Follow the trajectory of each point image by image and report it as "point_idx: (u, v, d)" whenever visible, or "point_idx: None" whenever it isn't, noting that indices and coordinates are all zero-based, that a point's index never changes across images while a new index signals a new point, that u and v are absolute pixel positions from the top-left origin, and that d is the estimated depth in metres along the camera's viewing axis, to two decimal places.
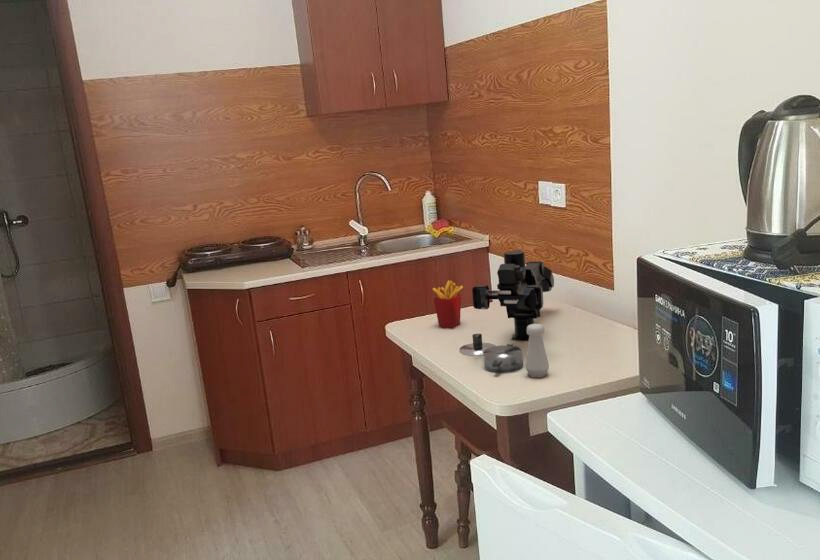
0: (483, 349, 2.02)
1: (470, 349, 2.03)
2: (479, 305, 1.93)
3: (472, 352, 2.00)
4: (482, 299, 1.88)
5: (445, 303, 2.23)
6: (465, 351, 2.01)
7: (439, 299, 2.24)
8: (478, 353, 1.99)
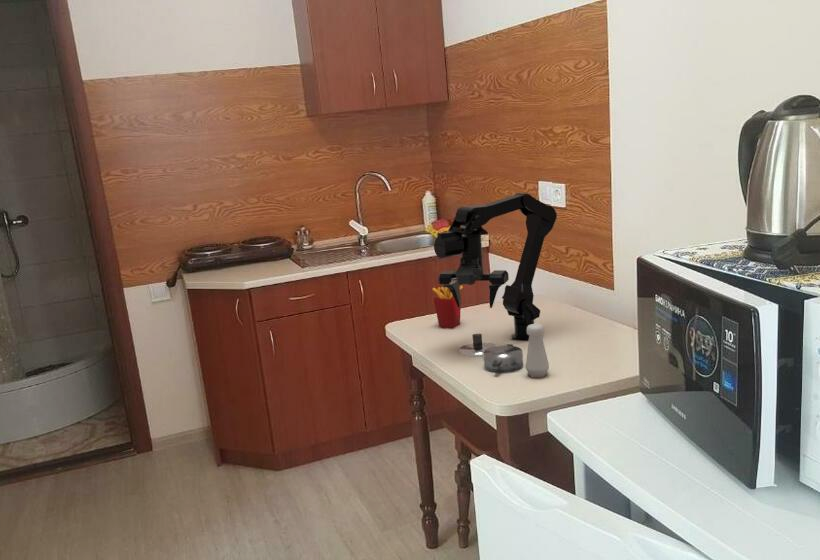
0: (483, 349, 2.02)
1: (470, 349, 2.03)
2: None
3: (472, 352, 2.00)
4: (456, 299, 2.01)
5: (445, 303, 2.23)
6: (465, 351, 2.01)
7: (439, 299, 2.24)
8: (478, 353, 1.99)
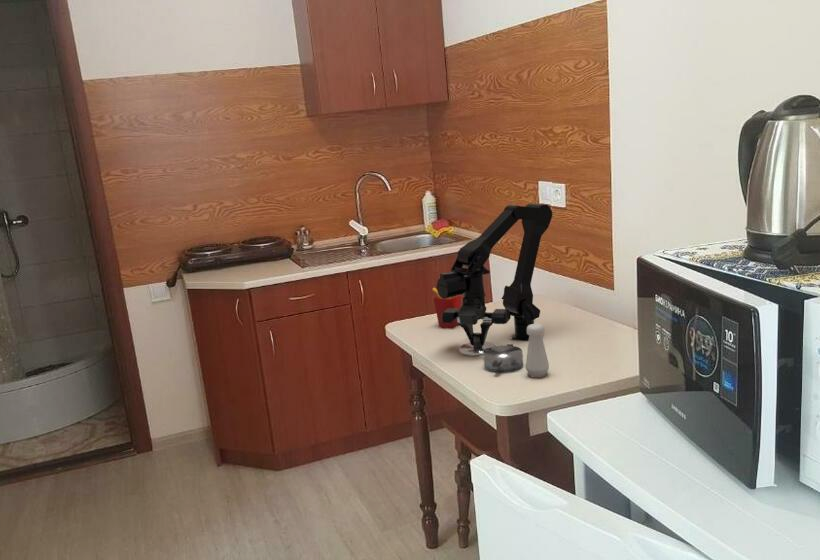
0: (483, 348, 2.02)
1: (470, 348, 2.03)
2: None
3: (472, 351, 2.00)
4: (469, 338, 2.02)
5: (445, 303, 2.23)
6: (465, 350, 2.01)
7: (439, 299, 2.24)
8: (478, 352, 1.99)
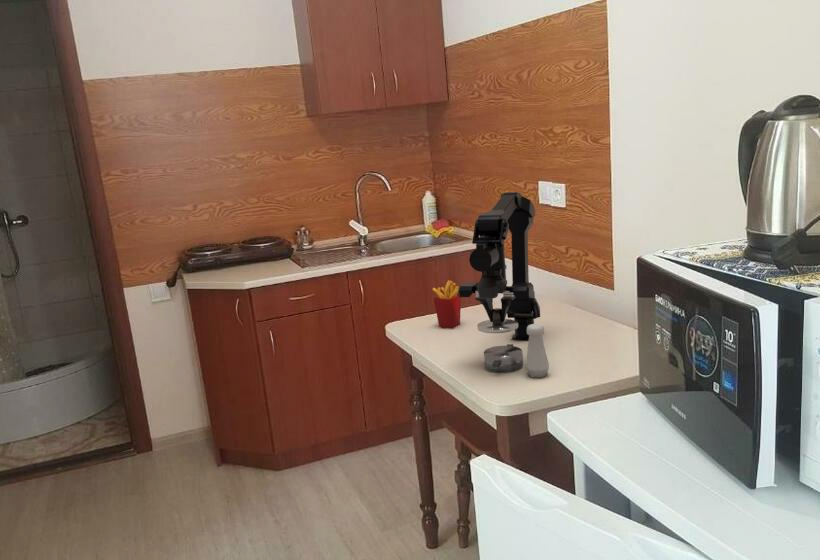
0: (503, 325, 1.86)
1: (489, 325, 1.87)
2: None
3: (491, 328, 1.84)
4: (488, 314, 1.86)
5: (445, 303, 2.23)
6: (484, 327, 1.86)
7: (439, 299, 2.24)
8: (498, 329, 1.83)
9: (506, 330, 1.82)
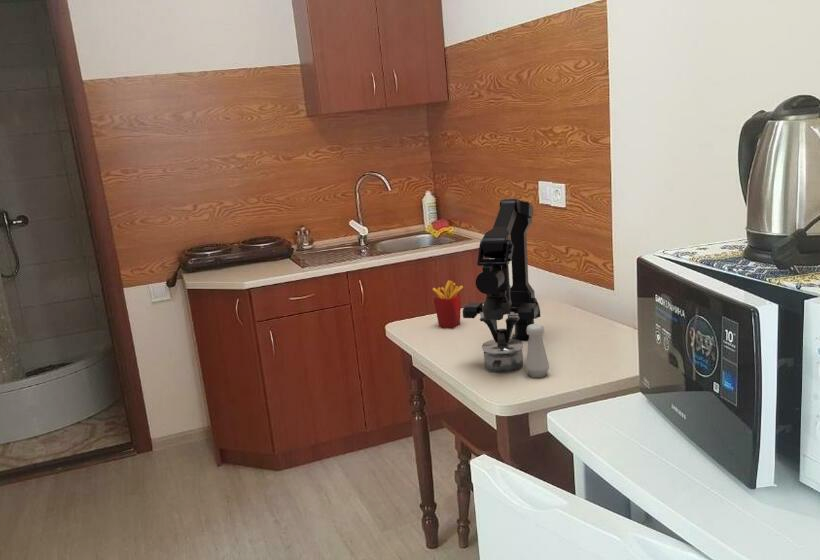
0: (508, 345, 1.86)
1: (494, 345, 1.87)
2: None
3: (496, 349, 1.84)
4: (493, 334, 1.86)
5: (445, 303, 2.23)
6: (489, 347, 1.86)
7: (439, 299, 2.24)
8: (503, 350, 1.83)
9: (511, 351, 1.82)
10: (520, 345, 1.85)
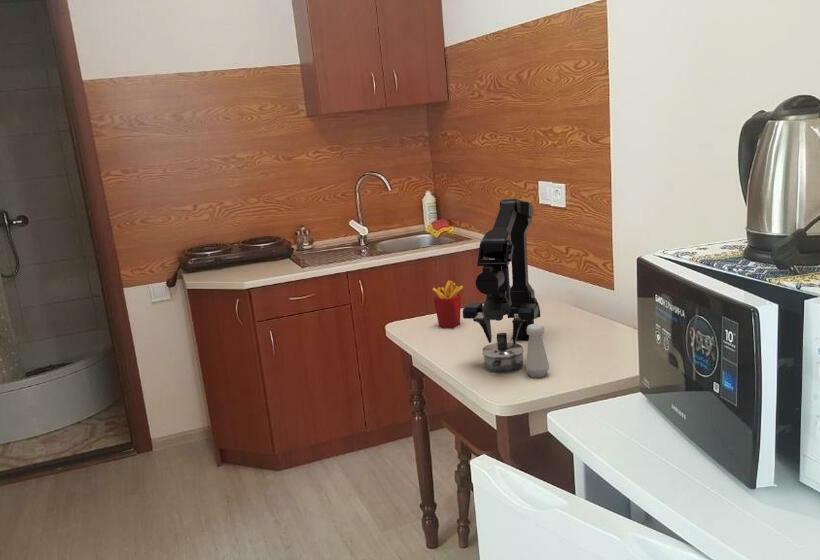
0: (508, 349, 1.86)
1: (495, 349, 1.87)
2: None
3: (496, 353, 1.84)
4: (486, 335, 1.87)
5: (445, 303, 2.23)
6: (489, 352, 1.86)
7: (439, 299, 2.24)
8: (503, 354, 1.83)
9: (511, 355, 1.82)
10: (520, 349, 1.85)
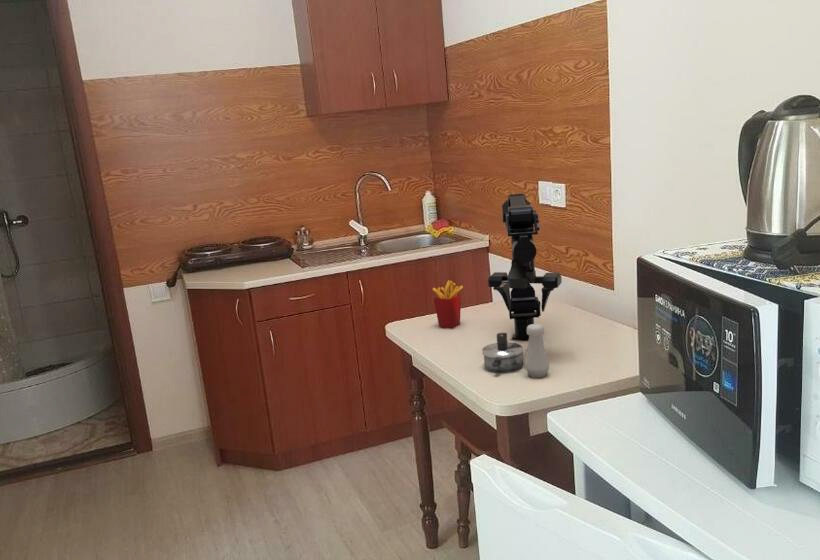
0: (508, 349, 1.86)
1: (495, 349, 1.87)
2: None
3: (496, 353, 1.84)
4: (506, 303, 1.94)
5: (445, 303, 2.23)
6: (489, 352, 1.86)
7: (439, 299, 2.24)
8: (503, 354, 1.83)
9: (511, 355, 1.82)
10: (520, 349, 1.85)
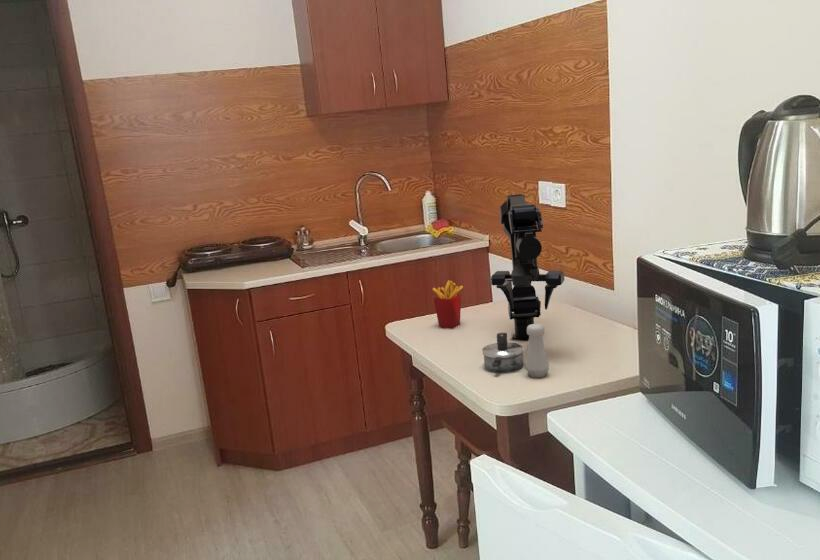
0: (508, 349, 1.86)
1: (495, 349, 1.87)
2: None
3: (496, 353, 1.84)
4: (509, 301, 1.94)
5: (445, 303, 2.23)
6: (489, 352, 1.86)
7: (439, 299, 2.24)
8: (503, 354, 1.83)
9: (511, 355, 1.82)
10: (520, 349, 1.85)
